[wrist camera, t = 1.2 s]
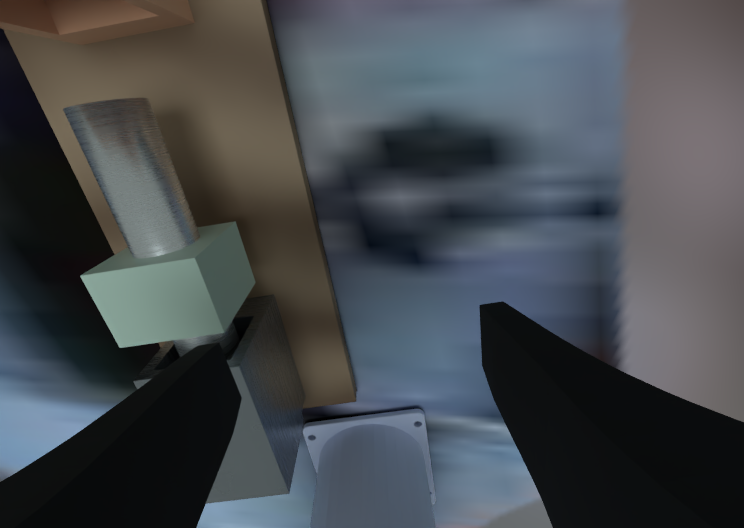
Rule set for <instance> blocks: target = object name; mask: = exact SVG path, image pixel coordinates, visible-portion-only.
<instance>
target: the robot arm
mask: <svg viewBox="0 0 744 528" xmlns="http://www.w3.org/2000/svg"><path fill="white" fill-rule="evenodd" d="M480 325H481V348H482V366H483V369H484V372H485V375H486V378H487V381H488V384H489V387H490V390H491V393H492V395H493V398H494V401H495V403H496V405H497V407H498V409H499V411H500V413H501V415H502V417H503V419H504V421H505V424H506V426H507V428H508V430H509V432H510V434H511V436H512V438H513V440H514V442H515V444H516V446H517V448H518V450H519V452H520V454H521V456H522V458H523V460H524V462H525V464H526V466H527V469H528V471H529V473H530V475H531V477H532V479H533V481H534V483H535V485H536V487H537V490H538V492H539V494H540V496H541V499H542V501H543V503H544V506H545V508H546V511H547V514H548V516H549V519H550V521H551V524H552V526H553V528H744V422H741V421H738V420H736V419H733V418H731V417H728V416H725V415H723V414H720V413H718V412H715V411H712V410H710V409H707V408H705V407H702V406H700V405H697V404H695V403H692V402H689V401H687V400H685V399H682V398H680V397H677V396H675V395H672V394H670V393H668V392H665V391H663V390H661V389H659V388H656V387H654V386H652V385H650V384H648V383H645V382H644V381H641V380H639V379H637V378H635V377H633V376H630V375H628V374H626V373H624V372H622V371H620V370H618V369H616V368H614V367H612V366H610V365H608V364H606V363H604V362H603V361H601V360H599V359H597V358H595V357H593V356H591V355H590V354H588V353H586V352H584V351H582V350H580V349H579V348H577V347H575V346H573V345H572V344H570V343H568V342H567V341H565V340H563V339H561V338H560V337H558V336H557V335H555V334H553V333H552V332H550V331H548V330H547V329H545V328H544V327H542V326H540V325H539V324H537V323H536V322H534V321H533V320H531V319H529V318H528V317H526V316H525V315H523V314H522V313H520V312H519V311H517V310H516V309H514V308H512V307H511V306H509V305H508V304H506V303H504V302H497V303H490V304H483V305H480ZM241 400H242V397H241V394H240V392H239V390H238V387H237V385H236V382H235V380H234V377H233V375H232V372H231V370H230V368H229V365H228V363H227V360H226V358H225V355H224V353H223V350H222V348H221V346H220V343H212V344H205V345H198V346H197V347H195V348H193V349H192V350H190V351H189V352H187V353H186V354H184V355H183V356H182V357H180V358H179V359H177V360H176V361H175V362H173V363H172V364H171V365H169V366H168V367H167V368H165V369H164V370H163V371H161V372H160V373H159V374H157V375H156V376H155V377H153V378H152V379H151V380H149V381H148V382H147V383H146V384H144V385H143V386H142V387H140V388H139V389H138V390H136V391H135V392H134V393H132V394H131V395H130V396H128V397H127V398H126V399H124V400H123V401H122V402H120V403H119V404H117V405H116V406H115V407H113V408H112V409H111V410H109V411H108V412H106V413H105V414H104V415H102V416H101V417H99V418H98V419H97V420H95V421H94V422H92V423H91V424H90V425H88V426H87V427H86V428H84V429H83V430H81V431H80V432H78V433H77V434H76V435H74V436H73V437H71V438H70V439H68V440H67V441H65V442H64V443H62V444H61V445H59V446H58V447H56V448H55V449H53V450H51V451H50V452H48V453H47V454H45V455H44V456H42V457H40V458H39V459H37V460H36V461H34V462H33V463H31V464H29V465H28V466H26V467H25V468H23V469H21V470H20V471H18V472H17V473H15V474H13V475H12V476H10V477H8V478H6V479H5V480H3V481H1V482H0V528H196V527H197V524H198V521H199V519H200V516H201V514H202V511H203V509H204V506H205V504H206V501H207V499H208V496H209V494H210V491H211V489H212V486H213V484H214V481H215V479H216V476H217V474H218V471H219V469H220V466H221V464H222V461H223V459H224V456H225V454H226V451H227V448H228V446H229V443H230V441H231V438H232V435H233V432H234V429H235V425H236V421H237V417H238V413H239V409H240V404H241ZM417 421H420V422H417ZM303 435H304V438H305V441H306V444H307V447H308V450H309V453H310V456H311V459H312V462H313V465H314V468H315V471H316V474H317V480H316V487H315V495H314V502H313V510H312V517H311V525H310V528H436V526H435V520H434V514H433V508H432V505H434V504H435V503H436V496H435V489H434V482H433V474H432V467H431V460H430V452H429V445H428V438H427V430H426V423H425V416H424V412H423V411H422V410H421V409H409V410H402V411H394V412H386V413H378V414H371V415H363V416H355V417H348V418H340V419H332V420H324V421H317V422H309V423H306V424H305V425H304V427H303ZM313 435H314V436H313Z"/></svg>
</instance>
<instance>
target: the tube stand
mask: <svg viewBox="0 0 744 528" xmlns="http://www.w3.org/2000/svg"><path fill="white" fill-rule="evenodd" d="M0 28H1V29H3V30H4V32H5V34H6V36H7V38H8V40H9V42H10V44H11V46H12V48H13V50H14V52H15V54H16V56H17V58H18V60H19V62H20V64H21V66H22V68H23V70H24V72H25V74H26V76H27V78H28V80H29V82H30V84H31V86H32V88H33V90H34V93H35V95H36V97H37V99H38V101H39V103H40V105H41V107H42V109H43V111H44V113H45V115H46V117H47V119H48V121H49V123H50V125H51V127H52V129H53V131H54V133H55V135H56V137H57V139H58V141H59V143H60V145H61V147H62V149H63V151H64V153H65V155H66V157H67V159H68V161H69V163H70V165H71V167H72V169H73V171H74V173H75V175H76V177H77V179H78V181H79V183H80V185H81V187H82V189H83V192H84V194H85V196H86V198H87V200H88V202H89V204H90V206H91V208H92V210H93V212H94V214H95V216H96V218H97V220H98V222H99V224H100V226H101V228H102V230H103V232H104V234H105V236H106V238H107V240H108V242H109V244H110V246H111V248H112V250H113V252H114V254H115V255H116V254H117V253H119V252H121V251H122V250H124V249H126V248H127V247H128V246H127V244H126V242H125V240H124V237H123V235H122V233H121V231H120V229H119V227H118V225H117V223H116V221H115V218H114V216H113V214H112V212H111V210H110V208H109V206H108V204H107V202H106V199H105V197H104V195H103V193H102V191H101V189H100V187H99V185H98V183H97V180H96V178H95V176H94V174H93V172H92V170H91V168H90V166H89V164H88V161H87V159H86V157H85V155H84V153H83V151H82V149H81V147H80V145H79V142H78V140H77V138H76V136H75V134H74V132H73V130H72V128H71V126H70V123H69V121H68V119H67V117H66V115H65V113H64V111H63V109H64V108H66V107H70V106H74V105H79V104H84V103H91V102H97V101H105V100H113V99H124V98H148V99H149V102H150V105H151V107H152V110H153V113H154V115H155V118H156V120H157V123H158V126H159V128H160V131H161V134H162V136H163V139H164V141H165V144H166V147H167V149H168V152H169V155H170V157H171V160H172V163H173V165H174V168H175V170H176V173H177V176H178V178H179V181H180V184H181V186H182V189H183V192H184V194H185V197H186V199H187V202H188V205H189V207H190V210H191V213H192V215H193V218H194V221H195V223H196V226H197V227H204V226H210V225H216V224H222V223H228V222H235V221H236V224H237V227H238V230H239V234H240V237H241V240H242V243H243V246H244V249H245V252H246V255H247V258H248V261H249V264H250V267H251V270H252V273H253V276H254V279H255V282H256V283H255V284H254V286H253V288H252V289H251V291H250V292H249V294H248V296H247V297H246V299H245V301H244V302H243V304H242V305H241V307H240V309H239V310H238V312H237V313H236V315H235V317H234V318H233V320H232V321H233V323H234V326H235V329H236V331H237V334H238V337H239V339H240V343H239V345H238V347H237V349H236V351H235V353H234V355H233V357H232V358H231V360H227V363H228V365H229V368H230V370H231V372H232V375H233V377H234V380H235V382H236V385H237V387H238V390H239V392H240V394H241V397H242V400H241V404H240V409H239V413H238V417H237V421H236V425H235V429H234V432H233V435H232V438H231V441H230V443H229V446H228V448H227V451H226V454H225V456H224V459H223V461H222V464H221V466H220V469H219V471H218V474H217V476H216V479H215V481H214V484H213V486H212V489H211V491H210V494H209V496H208V499H207V501H206V503H214V502H223V501H231V500H240V499H248V498H256V497H265V496H273V495H282V494H289V492H290V487H291V482H292V477H293V472H294V467H295V462H296V457H297V452H298V447H299V442H300V437H301V432H302V427H303V422H304V419H303V416H302V410H303V408H311V407H318V406H326V405H334V404H341V403H349V402H356V392H357V389H356V385H355V381H354V376H353V372H352V368H351V363H350V359H349V355H348V350H347V346H346V342H345V338H344V333H343V329H342V325H341V320H340V316H339V312H338V307H337V303H336V299H335V295H334V290H333V286H332V282H331V277H330V273H329V269H328V264H327V260H326V256H325V252H324V247H323V243H322V239H321V234H320V230H319V226H318V221H317V217H316V213H315V209H314V204H313V200H312V196H311V191H310V187H309V183H308V178H307V174H306V170H305V166H304V161H303V157H302V153H301V148H300V144H299V140H298V135H297V131H296V127H295V123H294V118H293V114H292V110H291V105H290V101H289V97H288V92H287V88H286V84H285V80H284V75H283V71H282V67H281V62H280V58H279V54H278V49H277V45H276V41H275V37H274V32H273V28H272V24H271V19H270V15H269V11H268V6H267V2H266V0H0ZM158 343H159V345H160V347H161V349H160V350H159V351H158V352H157V354H156V355H155V356H154V357H153V358H152V360H151V361H150V362H149V363H148V364H147V365H146V367H145V368H144V369H143V370H142V371H141V373H140V374H139V375H138V376H137V377H136V379H135V380H134V381H133V382H134V384H135V386H136V387H137V389H139V388H140V387H142V386H143V385H144V384H146V383H147V382H148V381H149V380H151V379H152V378H153V377H155V376H156V375H157V374H159V373H160V372H161V371H163V370H164V369H165V368H167V367H168V366H169V365H171V364H172V363H173V362H175V361H176V360H177V359H179V358H180V356H179V354H178V351H177V349H176V347H175V345H174V343H173V341H172V340H171V341H164V342H158Z"/></svg>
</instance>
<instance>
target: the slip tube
mask: <svg viewBox="0 0 744 528" xmlns="http://www.w3.org/2000/svg"><path fill="white" fill-rule="evenodd" d="M63 111H64V113H65V115H66V117H67V119H68V121H69V123H70V126H71V128H72V130H73V132H74V134H75V136H76V138H77V140H78V142H79V145H80V147H81V149H82V151H83V153H84V155H85V157H86V159H87V161H88V164H89V166H90V168H91V170H92V172H93V174H94V176H95V178H96V180H97V183H98V185H99V187H100V189H101V191H102V193H103V195H104V197H105V199H106V202H107V204H108V206H109V208H110V210H111V212H112V214H113V216H114V218H115V221H116V223H117V225H118V227H119V229H120V231H121V233H122V235H123V237H124V240H125V242H126V244H127V246H128V247H127V248H126V249H124V250H122V251H121V252H119V253H117V254H116V255H114V256H112V257H111V258H109V259H107V260H106V261H104V262H102V263H101V264H99V265H97V266H96V267H94V268H92V269H91V270H89V271H87V272H86V273H84V274H82V275H81V276H80V277H81V278H82V280H83V282H84V284H85V286H86V288H87V289H88V291H89V293H90V295H91V297H92V298H93V300H94V302H95V304H96V306H97V307H98V309H99V311H100V313H101V315H102V316H103V318H104V320H105V322H106V324H107V326H108V327H109V329H110V331H111V333H112V335H113V336H114V338H115V340H116V342H117V344H118V345H119V347H120V348H123V347H130V346H137V345H143V344H150V343H157V342H164V341H171V340H172V341H173V343H174V345H175V347H176V349H177V351H178V354H179V356H180V357H182V356H183V355H184V354H186V353H187V352H189V351H190V350H192V349H193V348H195V347H197V346H198V345H205V344H212V343H220V346H221V348H222V350H223V353H224V355H225V358H226V360H231V358H232V357H233V355H234V353H235V351H236V349H237V347H238V345H239V343H240V339H239V337H238V334H237V331H236V329H235V326H234V323H233V321H232V320H233V318H234V317H235V315H236V313H237V312H238V310H239V309H240V307H241V305H242V304H243V302H244V301H245V299H246V297H247V296H248V294H249V292H250V291H251V289H252V288H253V286H254V284H255V283H256V282H255V279H254V276H253V273H252V270H251V267H250V264H249V261H248V258H247V255H246V252H245V249H244V246H243V243H242V240H241V237H240V234H239V230H238V227H237V224H236V221H235V222H228V223H222V224H216V225H210V226H204V227H197V226H196V223H195V221H194V218H193V215H192V213H191V210H190V207H189V205H188V202H187V199H186V197H185V194H184V192H183V189H182V186H181V184H180V181H179V178H178V176H177V173H176V170H175V168H174V165H173V163H172V160H171V157H170V155H169V152H168V149H167V147H166V144H165V141H164V139H163V136H162V134H161V131H160V128H159V126H158V123H157V120H156V118H155V115H154V113H153V110H152V107H151V105H150V102H149V99H148V98H124V99H113V100H105V101H97V102H91V103H84V104H79V105H74V106H70V107H66V108H64V109H63Z"/></svg>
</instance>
